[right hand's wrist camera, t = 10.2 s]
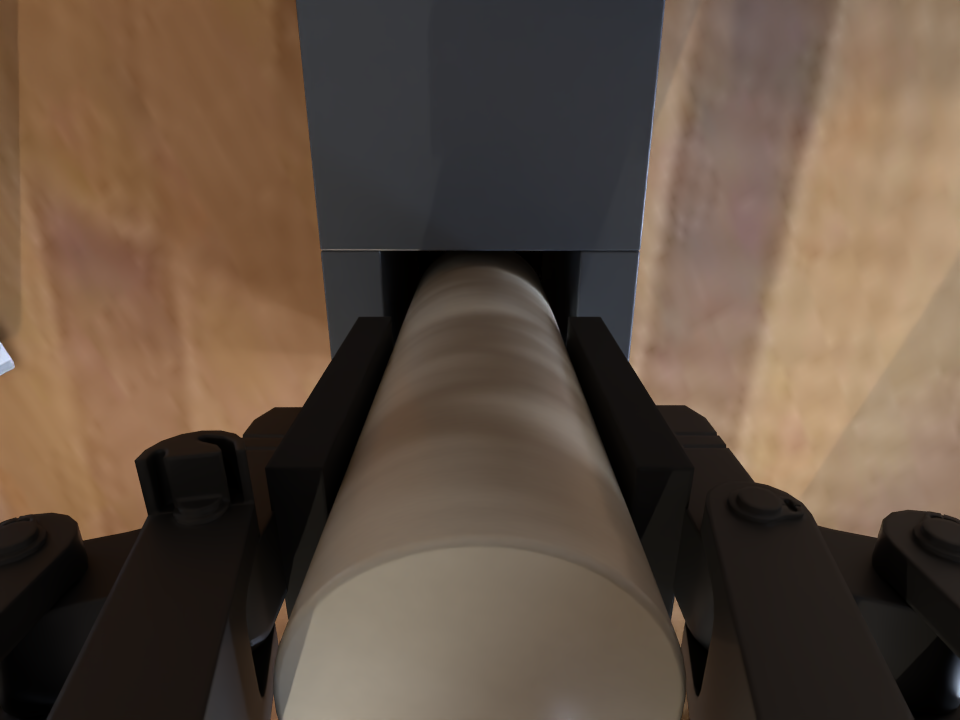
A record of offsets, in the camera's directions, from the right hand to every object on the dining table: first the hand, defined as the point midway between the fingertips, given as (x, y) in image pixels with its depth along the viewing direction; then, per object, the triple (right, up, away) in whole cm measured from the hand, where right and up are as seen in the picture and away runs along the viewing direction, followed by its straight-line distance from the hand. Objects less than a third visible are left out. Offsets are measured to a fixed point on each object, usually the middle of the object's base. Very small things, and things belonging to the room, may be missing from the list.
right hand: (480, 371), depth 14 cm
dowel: (0, +2, +5) cm, 5 cm away
